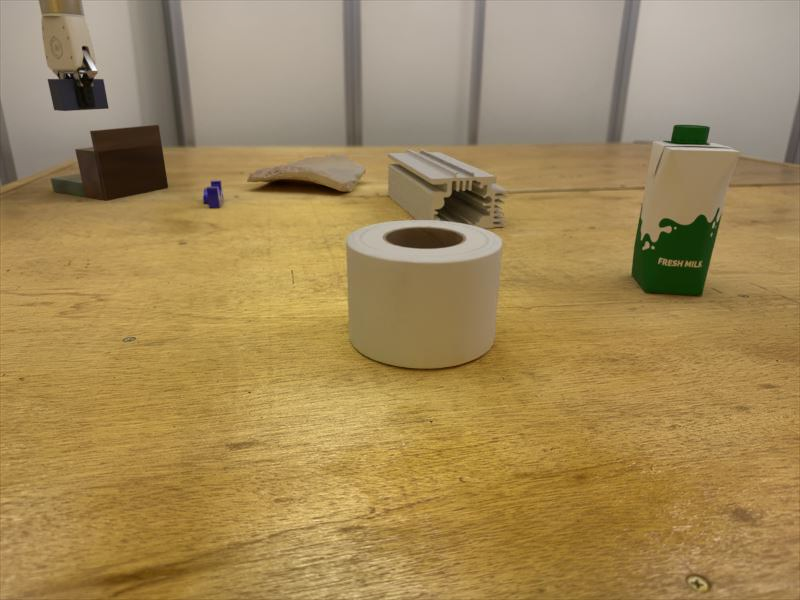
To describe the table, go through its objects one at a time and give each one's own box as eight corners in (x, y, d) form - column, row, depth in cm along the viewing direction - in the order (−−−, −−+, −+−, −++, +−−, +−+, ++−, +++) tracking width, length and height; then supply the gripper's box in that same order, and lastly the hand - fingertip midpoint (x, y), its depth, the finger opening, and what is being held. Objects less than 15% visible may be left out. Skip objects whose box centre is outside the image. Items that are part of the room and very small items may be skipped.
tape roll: (349, 306, 65) (347, 217, 61) (478, 304, 66) (484, 216, 62) (347, 372, 51) (343, 262, 47) (510, 368, 52) (522, 260, 48)
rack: (53, 191, 123) (38, 126, 117) (116, 180, 136) (105, 120, 130) (106, 200, 115) (92, 131, 110) (168, 187, 128) (158, 124, 123)
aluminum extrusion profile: (448, 192, 126) (450, 147, 122) (505, 227, 99) (510, 171, 95) (387, 195, 123) (387, 149, 119) (430, 232, 96) (432, 173, 92)
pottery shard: (281, 178, 144) (243, 185, 125) (281, 149, 142) (243, 152, 123) (370, 187, 139) (344, 196, 120) (372, 157, 137) (346, 161, 118)
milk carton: (687, 275, 77) (722, 125, 69) (712, 299, 68) (755, 132, 61) (622, 271, 78) (649, 123, 70) (639, 295, 69) (671, 130, 62)
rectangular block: (53, 110, 114) (47, 78, 111) (98, 107, 122) (93, 78, 119) (64, 111, 112) (57, 79, 110) (108, 108, 120) (103, 79, 118)
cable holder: (206, 199, 117) (204, 180, 115) (223, 199, 118) (221, 180, 116) (201, 208, 110) (198, 188, 108) (219, 207, 110) (217, 187, 109)
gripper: (19, 9, 110) (40, 106, 117) (69, 6, 103) (89, 109, 110) (56, 12, 116) (74, 104, 123) (106, 10, 109) (122, 108, 116)
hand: (81, 106), depth 117 cm, fingers closed on rectangular block, 3 cm apart
